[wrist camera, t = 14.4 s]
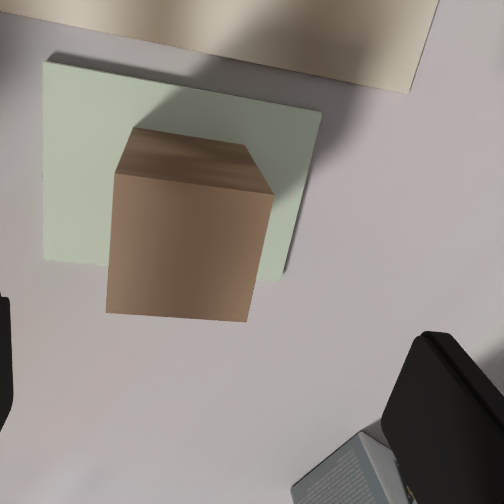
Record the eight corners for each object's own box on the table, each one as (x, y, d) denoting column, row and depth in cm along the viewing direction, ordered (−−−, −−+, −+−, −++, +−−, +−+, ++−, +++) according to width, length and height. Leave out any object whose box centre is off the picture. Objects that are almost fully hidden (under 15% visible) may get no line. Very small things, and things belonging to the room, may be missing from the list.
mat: (319, 111, 21) (322, 113, 21) (278, 277, 25) (280, 282, 24) (45, 60, 18) (42, 61, 18) (45, 255, 22) (43, 259, 22)
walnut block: (244, 144, 21) (274, 194, 15) (226, 241, 23) (246, 322, 17) (133, 127, 20) (114, 173, 13) (125, 231, 22) (105, 312, 15)
